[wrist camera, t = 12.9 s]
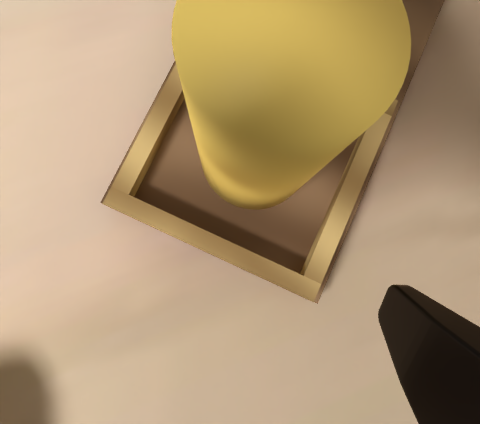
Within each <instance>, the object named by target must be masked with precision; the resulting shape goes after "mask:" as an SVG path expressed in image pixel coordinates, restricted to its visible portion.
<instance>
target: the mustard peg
mask: <svg viewBox="0 0 480 424" xmlns="http://www.w3.org/2000/svg"><path fill="white" fill-rule="evenodd" d="M172 45H173V52H174V57H175V61H176V65H177V69H178V73H179V77H180V81H181V85H182V89H183V93H184V97H185V101H186V105H187V109H188V113H189V117H190V121H191V125H192V129H193V133H194V137H195V141H196V145H197V149H198V153H199V156H200V160H201V164H202V168H203V172H204V175H205V177H206V180H207V181H208V183H209V185H210V186H211V188H212V189H213V190H214V191H215V193H217V194H218V195H219V196H220V197H221V198H222V199H224V200H225V201H227V202H228V203H230V204H232V205H234V206H237V207H240V208H244V209H251V210H260V209H266V208H270V207H273V206H276V205H278V204H280V203H282V202H283V201H285V200H286V199H288V198H289V197H290V196H291V195H293V194H294V193H295V192H296V191H297V190H298V189H299V188H301V187H302V186H303V185H304V184H305V183H306V182H307V181H309V180H310V179H311V178H312V177H313V176H314V175H315V174H317V173H318V172H319V171H320V170H321V169H322V168H323V167H325V166H326V165H327V164H328V163H329V162H330V161H331V160H333V159H334V158H335V157H336V156H337V155H338V154H339V153H341V152H342V151H343V150H344V149H345V148H346V147H347V146H349V145H350V144H351V143H352V142H353V141H354V140H355V139H357V138H358V137H359V136H360V135H361V134H362V133H363V132H365V131H366V130H367V129H368V128H369V127H370V126H371V125H373V124H374V123H375V122H376V121H377V120H378V119H379V118H380V117H381V116H382V115H383V114H384V113H385V112H386V111H387V110H388V108H389V107H390V105H391V104H392V103H393V101H394V100H395V98H396V97H397V95H398V93H399V91H400V89H401V87H402V85H403V83H404V80H405V77H406V74H407V71H408V66H409V61H410V55H411V34H410V25H409V21H408V16H407V12H406V10H405V7H404V4H403V2H402V0H177V2H176V5H175V8H174V13H173V20H172Z"/></svg>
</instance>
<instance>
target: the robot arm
mask: <svg viewBox="0 0 480 424" xmlns="http://www.w3.org/2000/svg"><path fill="white" fill-rule="evenodd" d="M378 318H379V323H380V326H381V329H382V332H383V335H384V337H385V340H386V343H387V346H388V349H389V352H390V355H391V358H392V361H393V364H394V367H395V369H396V372H397V375H398V378H399V380H400V383H401V385H402V388H403V390H404V392H405V395H406V397H407V399H408V401H409V404H410V406H411V408H412V410H413V412H414V415H415V417H416V419H417V421H418V423H419V424H480V327H479V326H477V325H475V324H474V323H472V322H470V321H468V320H467V319H465V318H463V317H462V316H460V315H458V314H457V313H455V312H453V311H452V310H450V309H448V308H446V307H445V306H443V305H441V304H440V303H438V302H436V301H435V300H433V299H431V298H429V297H428V296H426V295H424V294H423V293H421V292H419V291H418V290H416V289H414V288H413V287H411V286H408V285H391V286H390V287H389V288H388V290H387V292H386V295H385V297H384V299H383V302H382V304H381V307H380V309H379V313H378Z"/></svg>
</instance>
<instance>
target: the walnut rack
mask: <svg viewBox="0 0 480 424" xmlns="http://www.w3.org/2000/svg"><path fill="white" fill-rule="evenodd" d="M402 2H403V4H404V7H405V10H406V12H407V16H408V21H409V25H410V34H411V55H410V61H409V66H408V71H407V74H406V77H405V80H404V83H403V85H402V87H401V89H400V91H399V93H398V95H397V97H396V98H395V100H394V101H393V103H392V104H391V105H390V107H389V108H388V110H387V111H386V112H385V113H384V114H383V115H382V116H381V117H380V118H379V119H378V120H377V121H376V122H375V123H374V124H373V125H371V126H370V127H369V128H368V129H367V130H366V131H365V132H363V133H362V134H361V135H360V136H359V137H358V138H357V139H355V140H354V141H353V142H352V143H351V144H350V145H349V146H347V147H346V148H345V149H344V150H343V151H342V152H341V153H339V154H338V155H337V156H336V157H335V158H334V159H333V160H331V161H330V162H329V163H328V164H327V165H326V166H325V167H323V168H322V169H321V170H320V171H319V172H318V173H317V174H315V175H314V176H313V177H312V178H311V179H310V180H309V181H307V182H306V183H305V184H304V185H303V186H302V187H301V188H299V189H298V190H297V191H296V192H295V193H294V194H293V195H291V196H290V197H289V198H288V199H286V200H285V201H283V202H282V203H280V204H278V205H276V206H273V207H270V208H266V209H260V210H251V209H244V208H240V207H237V206H234V205H232V204H230V203H228V202H227V201H225V200H224V199H222V198H221V197H220V196H219V195H218V194H217V193H215V191H214V190H213V189H212V188H211V186H210V185H209V183H208V181H207V180H206V177H205V175H204V172H203V168H202V164H201V160H200V156H199V153H198V149H197V145H196V141H195V137H194V133H193V129H192V125H191V121H190V117H189V113H188V109H187V105H186V101H185V97H184V93H183V89H182V85H181V81H180V77H179V73H178V69H177V65H176V61H175V62H174V63H173V65H172V67H171V69H170V71H169V73H168V75H167V77H166V79H165V81H164V83H163V84H162V86H161V88H160V90H159V92H158V94H157V96H156V98H155V100H154V102H153V104H152V105H151V107H150V109H149V111H148V113H147V115H146V117H145V119H144V121H143V123H142V125H141V126H140V128H139V130H138V132H137V134H136V136H135V138H134V140H133V142H132V144H131V146H130V147H129V149H128V151H127V153H126V155H125V157H124V159H123V161H122V163H121V165H120V166H119V168H118V170H117V172H116V174H115V176H114V178H113V180H112V182H111V184H110V186H109V187H108V189H107V191H106V193H105V195H104V197H103V199H102V201H101V203H102V204H104V205H106V206H108V207H110V208H112V209H115V210H117V211H119V212H121V213H123V214H125V215H128V216H130V217H132V218H134V219H136V220H138V221H140V222H143V223H145V224H147V225H149V226H151V227H153V228H155V229H158V230H160V231H162V232H164V233H166V234H168V235H170V236H173V237H175V238H177V239H179V240H181V241H183V242H185V243H188V244H190V245H192V246H194V247H196V248H198V249H201V250H203V251H205V252H207V253H209V254H211V255H213V256H216V257H218V258H220V259H222V260H224V261H226V262H228V263H231V264H233V265H235V266H237V267H239V268H241V269H243V270H246V271H248V272H250V273H252V274H254V275H256V276H258V277H261V278H263V279H265V280H267V281H269V282H271V283H274V284H276V285H278V286H280V287H282V288H284V289H286V290H289V291H291V292H293V293H295V294H297V295H299V296H301V297H304V298H306V299H308V300H310V301H312V302H315V303H317V304H318V301H319V299H320V296H321V294H322V292H323V289H324V287H325V285H326V282H327V280H328V277H329V275H330V273H331V270H332V268H333V265H334V263H335V261H336V258H337V256H338V253H339V251H340V249H341V246H342V244H343V241H344V239H345V237H346V234H347V232H348V229H349V227H350V225H351V222H352V220H353V218H354V215H355V213H356V210H357V208H358V206H359V203H360V201H361V198H362V196H363V194H364V191H365V189H366V186H367V184H368V182H369V179H370V177H371V174H372V172H373V170H374V167H375V165H376V163H377V160H378V158H379V155H380V153H381V151H382V148H383V146H384V143H385V141H386V139H387V136H388V134H389V131H390V129H391V127H392V124H393V122H394V119H395V117H396V115H397V112H398V110H399V108H400V105H401V103H402V100H403V98H404V96H405V93H406V91H407V88H408V86H409V84H410V81H411V79H412V76H413V74H414V72H415V69H416V67H417V64H418V62H419V60H420V57H421V55H422V53H423V50H424V48H425V45H426V43H427V41H428V38H429V36H430V33H431V31H432V29H433V26H434V24H435V21H436V19H437V17H438V14H439V12H440V9H441V7H442V5H443V2H444V0H402Z"/></svg>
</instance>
